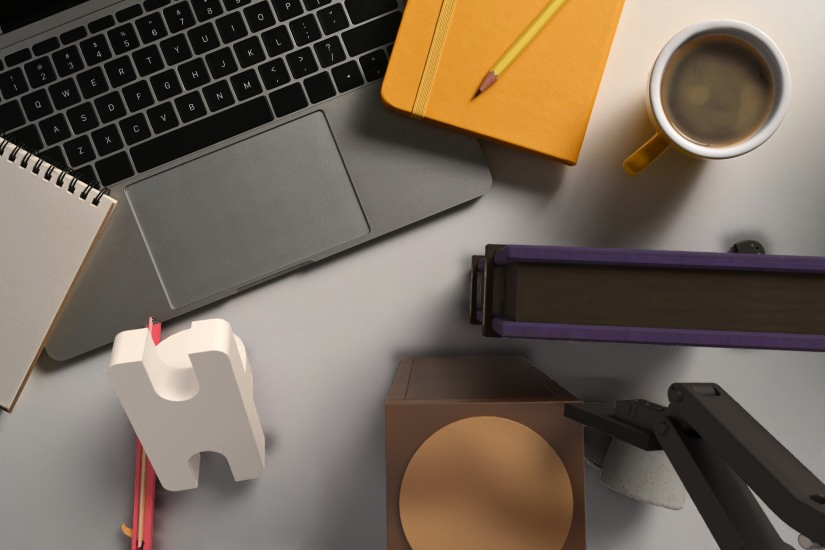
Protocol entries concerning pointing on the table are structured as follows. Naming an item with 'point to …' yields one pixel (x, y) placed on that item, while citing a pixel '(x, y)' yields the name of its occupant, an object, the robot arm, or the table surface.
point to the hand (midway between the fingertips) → (569, 523)
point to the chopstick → (144, 484)
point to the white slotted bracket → (189, 400)
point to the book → (650, 297)
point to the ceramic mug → (641, 475)
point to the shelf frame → (472, 379)
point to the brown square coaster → (484, 474)
